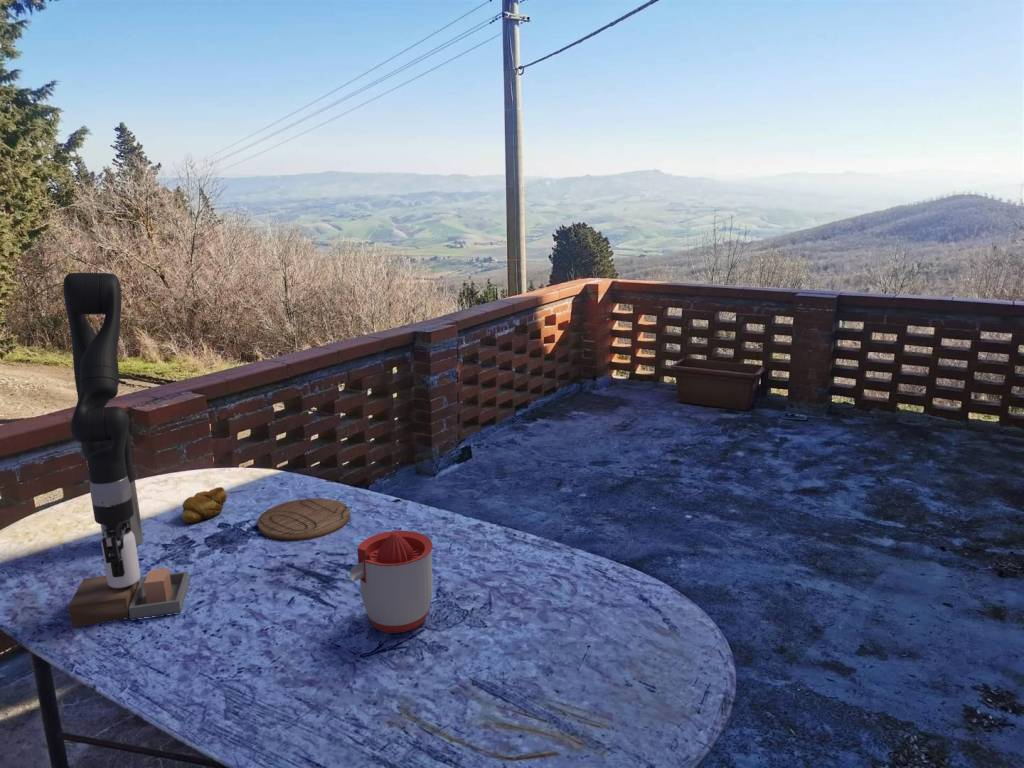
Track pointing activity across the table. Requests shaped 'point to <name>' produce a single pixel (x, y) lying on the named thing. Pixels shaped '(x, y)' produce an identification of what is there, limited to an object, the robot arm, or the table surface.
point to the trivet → (304, 519)
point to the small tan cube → (158, 586)
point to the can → (124, 563)
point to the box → (172, 606)
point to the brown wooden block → (100, 602)
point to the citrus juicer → (395, 579)
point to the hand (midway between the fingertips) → (122, 568)
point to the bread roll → (203, 505)
